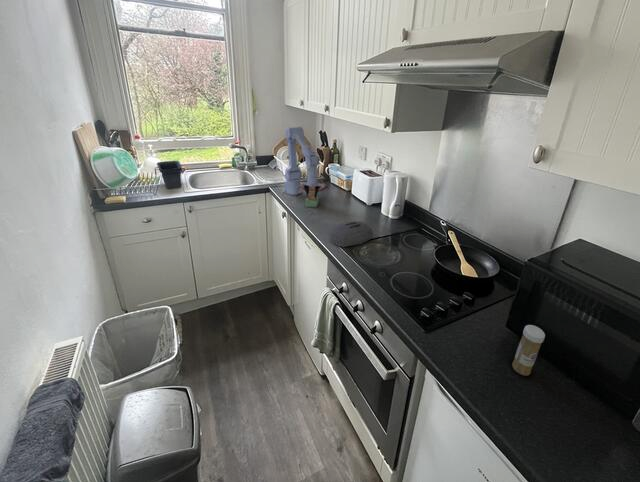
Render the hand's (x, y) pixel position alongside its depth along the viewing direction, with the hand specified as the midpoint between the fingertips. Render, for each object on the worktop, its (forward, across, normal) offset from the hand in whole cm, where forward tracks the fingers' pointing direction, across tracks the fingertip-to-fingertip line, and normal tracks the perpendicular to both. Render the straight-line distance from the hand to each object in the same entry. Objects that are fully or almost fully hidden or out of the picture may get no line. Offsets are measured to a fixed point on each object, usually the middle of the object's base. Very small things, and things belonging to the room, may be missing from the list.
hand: (311, 197), depth 181 cm
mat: (+5, -6, +34) cm, 35 cm away
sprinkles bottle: (+5, +78, -104) cm, 130 cm away
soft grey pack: (+5, +27, -41) cm, 49 cm away
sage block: (+5, 0, 0) cm, 5 cm away
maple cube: (+1, 0, 0) cm, 1 cm away
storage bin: (+5, -100, +13) cm, 101 cm away
